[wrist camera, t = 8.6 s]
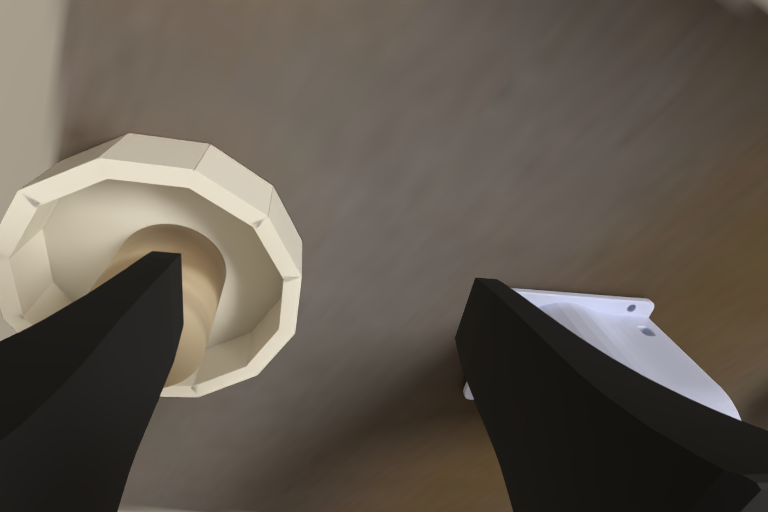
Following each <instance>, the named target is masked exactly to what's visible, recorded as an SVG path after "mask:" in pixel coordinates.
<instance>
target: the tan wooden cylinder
mask: <svg viewBox="0 0 768 512" xmlns="http://www.w3.org/2000/svg"><path fill="white" fill-rule="evenodd" d="M151 251H159V252H171V253H181V259H182V288H183V316H184V326H183V330H182V334H181V338H180V341H179V345H178V349H177V353H176V356H175V360H174V363H173V366H172V368H171V370H170V373H169V375H168V378H167V380H166V383H165V385H164V387H163V388H166V387H170V386H172V385H175V384H177V383H180V382H182V381H183V380H185V379H187V378H188V377H189V376H191V375H192V374H193V373H194V372H195V371H196V370H197V369H198V367H199V366H200V364H201V362H202V360H203V357H204V354H205V351H206V347H207V343H208V340H209V336H210V333H211V329H212V326H213V322H214V319H215V315H216V312H217V308H218V304H219V301H220V297H221V294H222V290H223V287H224V283H225V279H226V264H225V261H224V258H223V256H222V254H221V252H220V251H219V249H218V248H217V246H216V245H215V244H214V243H213V242H212V241H211V240H210V239H208V238H207V237H206V236H204V235H203V234H201V233H199V232H198V231H196V230H193V229H191V228H188V227H185V226H181V225H176V224H156V225H151V226H147V227H145V228H142V229H140V230H138V231H136V232H135V233H133V234H132V235H131V236H130V237H129V238H128V239H127V240H126V241H125V243H124V244H123V245H122V247H121V248H120V250H119V251H118V252H117V254H116V255H115V256H114V258H113V259H112V260H111V262H110V263H109V265H108V266H107V267H106V269H105V270H104V271H103V273H102V274H101V275H100V277H99V278H98V280H97V281H96V282H95V284H94V285H93V286H92V288H91V289H90V291H89V292H91V291H92V290H94V289H95V288H97V287H98V286H100V285H102V284H103V283H105V282H106V281H108V280H109V279H111V278H112V277H114V276H115V275H117V274H118V273H120V272H121V271H123V270H124V269H126V268H127V267H129V266H130V265H132V264H133V263H134V262H136V261H137V260H139V259H140V258H142V257H143V256H145V255H146V254H148V253H150V252H151ZM89 292H88V293H89ZM88 293H87V294H88Z"/></svg>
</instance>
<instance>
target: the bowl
mask: <svg viewBox="0 0 768 512" xmlns="http://www.w3.org/2000/svg"><path fill="white" fill-rule="evenodd" d="M156 224H176V225H181V226H185V227H188V228H191V229H193V230H196V231H198V232H199V233H201V234H203V235H204V236H206V237H207V238H208V239H210V240H211V241H212V242H213V243H214V244H215V245H216V246H217V248H218V249H219V251H220V252H221V254H222V256H223V258H224V261H225V264H226V279H225V283H224V287H223V290H222V294H221V297H220V301H219V304H218V308H217V312H216V315H215V319H214V322H213V326H212V329H211V333H210V336H209V340H208V343H207V347H206V351H205V354H204V357H203V360H202V362H201V364H200V366H199V367H198V369H197V370H196V371H195V372H194V373H193V374H192V375H191V376H189V377H188V378H187V379H185V380H183V381H182V382H180V383H177V384H175V385H172V386H170V387H166V388H163V390H162V392H161V395H160V397H200V396H203V395H205V394H208V393H211V392H213V391H216V390H219V389H222V388H224V387H227V386H230V385H232V384H235V383H238V382H240V381H243V380H246V379H249V378H251V377H254V376H257V375H258V374H259V373H260V372H261V371H262V369H263V368H264V367H265V366H266V365H267V364H268V363H269V362H270V361H271V359H272V358H273V357H274V356H275V355H276V354H277V353H278V352H279V351H280V350H281V348H282V347H283V346H284V345H285V344H286V343H287V342H288V341H289V340H290V338H291V337H292V336H293V335H294V334H295V330H296V321H297V312H298V304H299V295H300V287H301V278H302V240H301V238H300V236H299V235H298V233H297V231H296V229H295V227H294V225H293V223H292V221H291V219H290V217H289V215H288V214H287V212H286V210H285V208H284V206H283V204H282V202H281V200H280V198H279V196H278V194H277V192H276V191H275V189H274V187H273V186H272V185H271V184H269V183H268V182H266V181H265V180H263V179H262V178H260V177H259V176H257V175H256V174H254V173H253V172H251V171H250V170H248V169H247V168H245V167H244V166H242V165H241V164H239V163H238V162H236V161H235V160H233V159H232V158H230V157H229V156H227V155H226V154H224V153H223V152H221V151H220V150H218V149H217V148H215V147H214V146H212V145H210V146H209V144H207V143H199V142H192V141H184V140H177V139H169V138H162V137H155V136H147V135H140V134H132V133H128V134H126V135H123V136H121V137H118V138H116V139H113V140H111V141H108V142H106V143H103V144H101V145H99V146H96V147H94V148H91V149H89V150H86V151H84V152H81V153H79V154H76V155H74V156H71V157H69V158H66V159H64V160H62V161H60V162H58V163H57V164H56V165H54V166H53V167H51V168H50V169H48V170H47V171H45V172H44V173H43V174H41V175H40V176H38V177H37V178H36V179H34V180H33V181H31V182H30V183H28V184H27V185H25V186H24V187H23V188H21V189H20V190H18V192H17V194H16V196H15V197H14V199H13V201H12V203H11V205H10V206H9V208H8V210H7V212H6V214H5V216H4V218H3V220H2V222H1V223H0V310H1V314H2V317H3V319H4V321H5V322H7V323H8V324H9V325H10V326H11V327H12V328H13V329H14V330H15V331H16V332H17V333H19V332H21V331H23V330H24V329H26V328H28V327H30V326H32V325H34V324H36V323H38V322H40V321H42V320H43V319H45V318H47V317H49V316H50V315H52V314H54V313H55V312H57V311H59V310H61V309H62V308H64V307H66V306H67V305H69V304H71V303H72V302H74V301H76V300H78V299H79V298H81V297H83V296H84V295H86V294H87V293H88V292H89V291H90V289H91V288H92V286H93V285H94V284H95V282H96V281H97V280H98V278H99V277H100V275H101V274H102V273H103V271H104V270H105V269H106V267H107V266H108V265H109V263H110V262H111V260H112V259H113V258H114V256H115V255H116V254H117V252H118V251H119V250H120V248H121V247H122V245H123V244H124V243H125V241H126V240H127V239H128V238H129V237H130V236H131V235H132V234H133V233H135V232H136V231H138V230H140V229H142V228H145V227H147V226H151V225H156Z"/></svg>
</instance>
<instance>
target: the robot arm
mask: <svg viewBox="0 0 768 512" xmlns="http://www.w3.org/2000/svg"><path fill="white" fill-rule="evenodd" d="M653 309H654V304H653V303H652V302H651V301H650V300H649V299H644V298H632V297H619V296H606V295H593V294H581V293H568V292H555V291H543V290H530V289H517V288H510V287H509V286H507V285H505V284H504V283H502V282H500V281H499V280H497V279H486V278H475V280H474V283H473V286H472V289H471V292H470V295H469V298H468V301H467V304H466V307H465V310H464V313H463V316H462V319H461V322H460V325H459V328H458V330H457V333H456V336H455V341H456V345H457V350H458V354H459V358H460V362H461V366H462V370H463V373H464V375H465V378H466V384H465V387H464V389H463V393H464V396H465V398H467V399H470V400H474V401H475V403H476V406H477V408H478V410H479V413H480V415H481V418H482V420H483V423H484V425H485V427H486V430H487V432H488V435H489V437H490V440H491V442H492V445H493V447H494V450H495V453H496V455H497V458H498V461H499V464H500V467H501V470H502V474H503V477H504V480H505V484H506V487H507V491H508V494H509V498H510V501H511V505H512V508H513V512H768V431H767V430H764V429H761V428H758V427H756V426H753V425H751V424H748V423H746V422H743V421H741V418H740V416H739V414H738V411H737V410H736V408H735V406H734V404H733V402H732V401H731V399H730V398H729V397H728V395H727V394H726V393H725V392H724V391H723V389H722V388H721V387H720V386H719V385H718V384H717V383H716V382H715V381H714V380H712V379H711V378H710V377H709V376H708V375H707V374H706V373H705V372H704V371H703V370H702V369H701V368H700V367H699V366H698V365H697V364H696V363H695V362H694V361H693V360H692V359H691V358H690V357H688V356H687V355H686V354H685V353H684V352H683V351H682V350H681V349H680V348H679V347H678V346H677V345H676V344H675V343H674V342H673V341H672V340H671V339H670V338H669V337H668V336H667V335H666V334H664V333H663V332H662V331H661V330H660V329H659V328H658V327H657V326H656V325H655V324H654V323H653V322H652V321H651V320H650V319H649V316H650V314H651V313H652V311H653ZM183 326H184V316H183V288H182V259H181V253H171V252H159V251H151V252H150V253H148V254H146V255H145V256H143V257H142V258H140V259H139V260H137V261H136V262H134V263H133V264H132V265H130V266H129V267H127V268H126V269H124V270H123V271H121V272H120V273H118V274H117V275H115V276H114V277H112V278H111V279H109V280H108V281H106V282H105V283H103V284H102V285H100V286H98V287H97V288H95V289H94V290H92V291H91V292H89V293H88V294H86V295H84V296H83V297H81V298H79V299H78V300H76V301H74V302H72V303H71V304H69V305H67V306H66V307H64V308H62V309H61V310H59V311H57V312H55V313H54V314H52V315H50V316H49V317H47V318H45V319H43V320H42V321H40V322H38V323H36V324H34V325H32V326H30V327H28V328H26V329H24V330H23V331H21V332H19V333H17V334H15V335H12V336H10V337H8V338H6V339H4V340H2V341H0V512H117V511H118V507H119V504H120V501H121V497H122V494H123V491H124V487H125V484H126V481H127V478H128V474H129V471H130V468H131V466H132V463H133V460H134V457H135V455H136V452H137V449H138V447H139V445H140V442H141V440H142V437H143V435H144V433H145V430H146V428H147V426H148V423H149V421H150V418H151V416H152V414H153V411H154V409H155V407H156V404H157V402H158V399H159V397H160V395H161V392H162V390H163V387H164V385H165V383H166V380H167V378H168V375H169V373H170V370H171V368H172V366H173V363H174V360H175V356H176V353H177V349H178V345H179V341H180V338H181V334H182V330H183Z"/></svg>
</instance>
